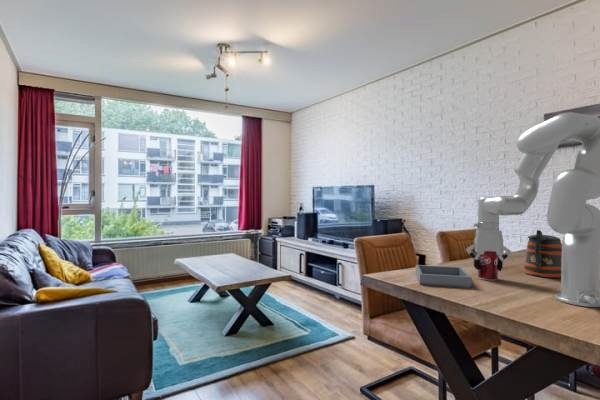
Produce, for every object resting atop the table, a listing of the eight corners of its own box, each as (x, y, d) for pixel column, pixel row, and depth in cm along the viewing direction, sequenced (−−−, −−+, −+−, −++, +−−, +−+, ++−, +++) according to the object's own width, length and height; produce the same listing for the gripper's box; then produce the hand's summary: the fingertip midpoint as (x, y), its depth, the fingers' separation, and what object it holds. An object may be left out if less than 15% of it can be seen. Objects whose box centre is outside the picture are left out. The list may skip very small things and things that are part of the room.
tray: (471, 288, 123) (471, 277, 123) (419, 284, 128) (419, 274, 128) (460, 276, 141) (460, 267, 141) (415, 274, 145) (415, 264, 145)
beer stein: (562, 282, 132) (563, 232, 132) (518, 276, 142) (519, 229, 141) (566, 274, 146) (567, 228, 146) (526, 269, 156) (527, 226, 155)
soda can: (492, 277, 140) (493, 248, 140) (501, 281, 133) (502, 251, 133) (474, 276, 141) (475, 248, 141) (482, 280, 134) (482, 250, 134)
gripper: (467, 226, 135) (466, 270, 136) (515, 228, 131) (515, 273, 131) (463, 225, 143) (462, 266, 143) (509, 226, 138) (508, 269, 139)
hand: (487, 269), depth 137 cm, fingers open, 7 cm apart
